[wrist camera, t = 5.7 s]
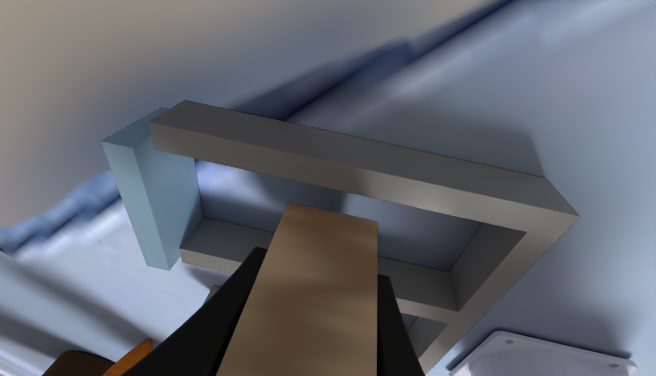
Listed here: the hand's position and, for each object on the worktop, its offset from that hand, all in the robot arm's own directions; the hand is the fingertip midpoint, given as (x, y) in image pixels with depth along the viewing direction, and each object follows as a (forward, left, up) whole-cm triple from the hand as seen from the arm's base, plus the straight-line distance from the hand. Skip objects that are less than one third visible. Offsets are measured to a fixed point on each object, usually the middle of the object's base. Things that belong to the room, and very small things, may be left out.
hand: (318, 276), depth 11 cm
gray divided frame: (0, +7, -4) cm, 8 cm away
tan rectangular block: (0, +1, -2) cm, 2 cm away
